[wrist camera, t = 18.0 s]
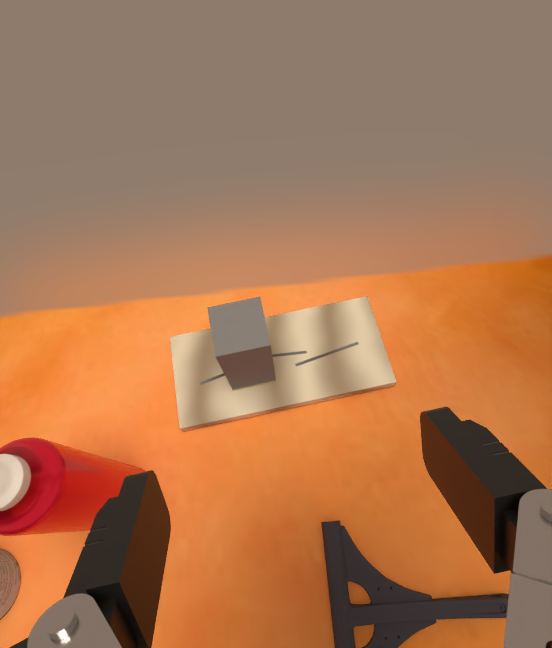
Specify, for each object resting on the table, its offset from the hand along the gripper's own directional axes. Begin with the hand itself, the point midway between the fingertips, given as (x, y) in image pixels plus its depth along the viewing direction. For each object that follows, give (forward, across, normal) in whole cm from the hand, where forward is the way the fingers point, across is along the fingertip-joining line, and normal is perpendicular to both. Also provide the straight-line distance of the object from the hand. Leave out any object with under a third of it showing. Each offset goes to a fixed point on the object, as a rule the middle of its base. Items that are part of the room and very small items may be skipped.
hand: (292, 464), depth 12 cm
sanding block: (+29, +2, +10) cm, 31 cm away
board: (+30, -1, +12) cm, 33 cm away
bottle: (+23, +16, +19) cm, 34 cm away
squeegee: (+14, -8, +29) cm, 33 cm away
